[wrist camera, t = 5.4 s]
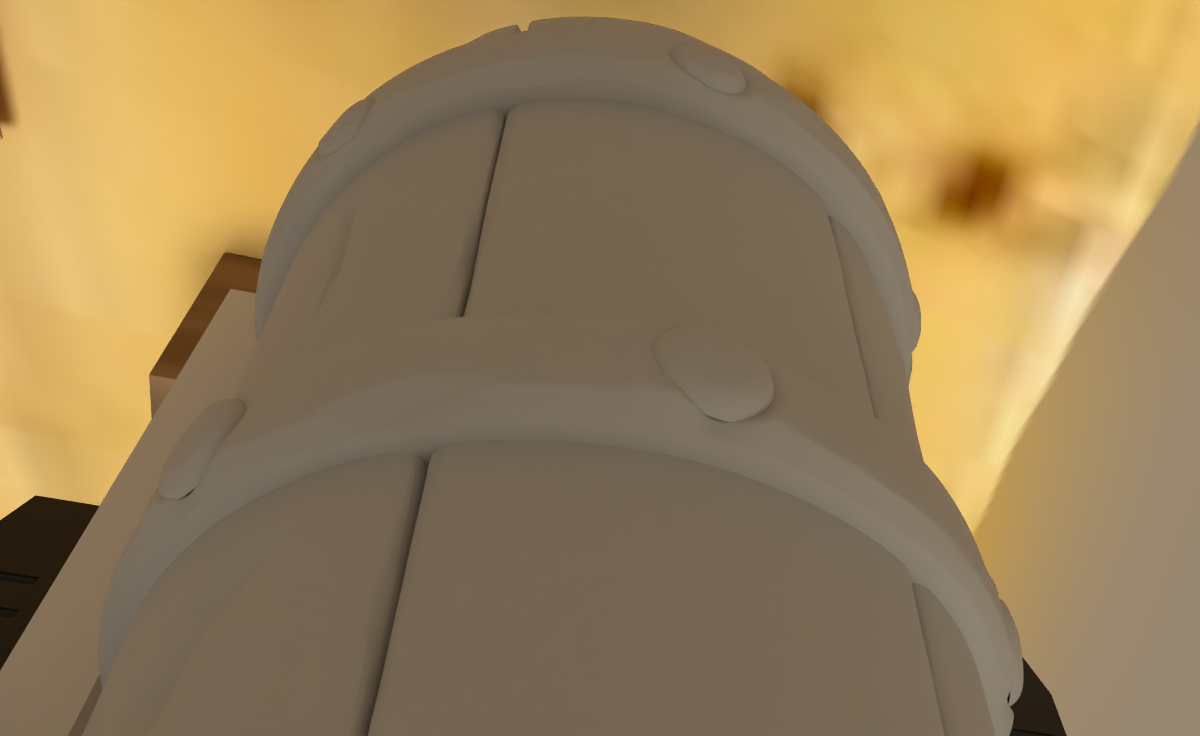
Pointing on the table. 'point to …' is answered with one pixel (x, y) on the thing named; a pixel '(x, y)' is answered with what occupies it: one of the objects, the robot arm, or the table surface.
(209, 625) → the mug
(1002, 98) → the table surface
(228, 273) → the crate
